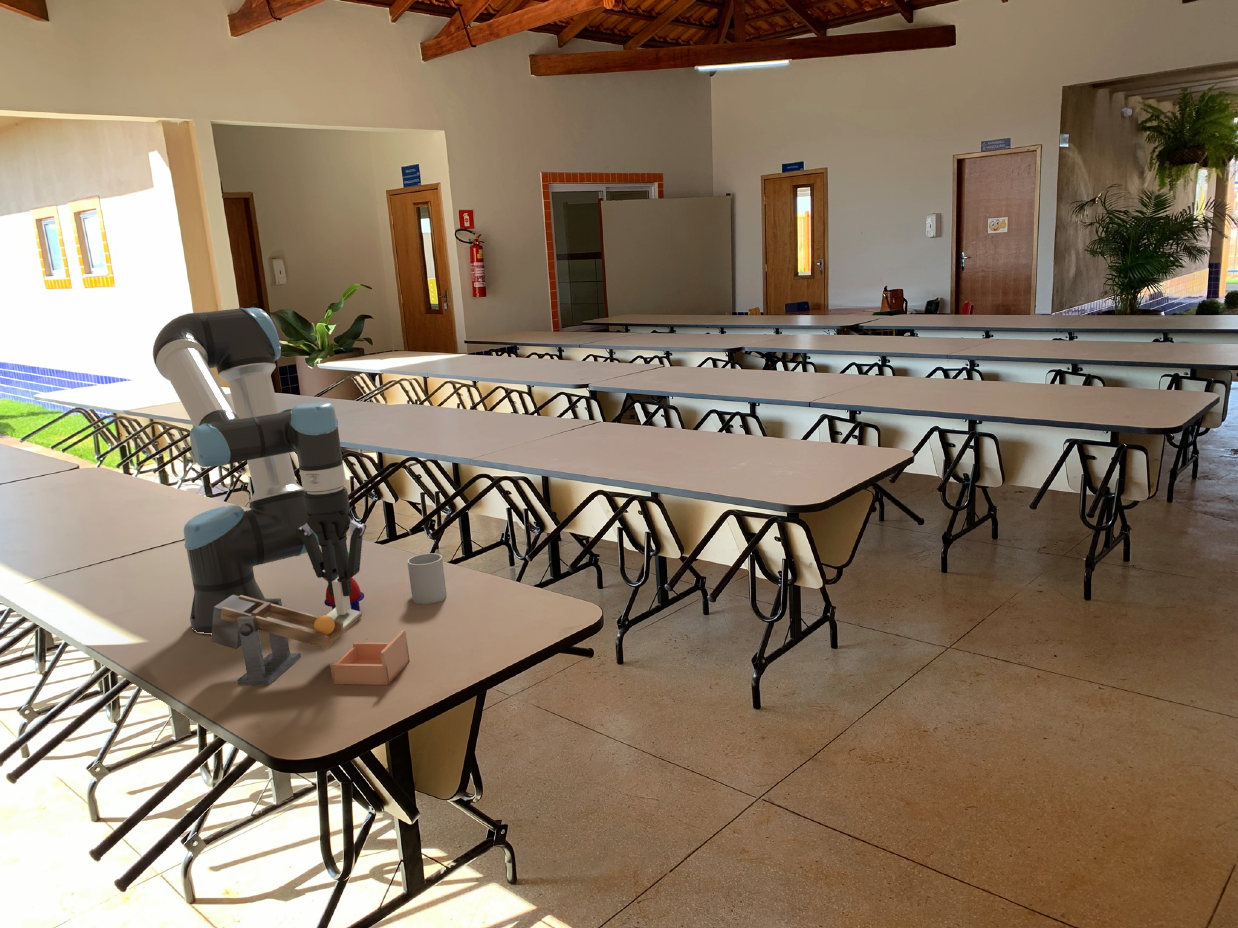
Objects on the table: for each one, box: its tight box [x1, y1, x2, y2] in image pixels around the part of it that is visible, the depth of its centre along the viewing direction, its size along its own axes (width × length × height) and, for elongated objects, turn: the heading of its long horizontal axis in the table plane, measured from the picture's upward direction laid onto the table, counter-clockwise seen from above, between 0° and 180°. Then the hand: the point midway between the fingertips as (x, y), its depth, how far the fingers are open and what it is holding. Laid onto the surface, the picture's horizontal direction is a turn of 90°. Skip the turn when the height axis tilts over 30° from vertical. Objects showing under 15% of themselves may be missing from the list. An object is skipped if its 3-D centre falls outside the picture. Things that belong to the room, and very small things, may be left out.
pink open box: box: [330, 629, 410, 686], centre depth 160 cm, size 10×9×6 cm
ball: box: [314, 614, 335, 635], centre depth 160 cm, size 4×4×4 cm
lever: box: [210, 595, 363, 651], centre depth 166 cm, size 22×14×8 cm, turn 80°
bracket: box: [236, 598, 302, 686], centre depth 163 cm, size 6×11×12 cm, turn 170°
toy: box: [312, 551, 365, 612], centre depth 186 cm, size 9×9×15 cm
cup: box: [407, 552, 447, 606], centre depth 194 cm, size 7×10×9 cm
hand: (344, 611), depth 168 cm, fingers closed
